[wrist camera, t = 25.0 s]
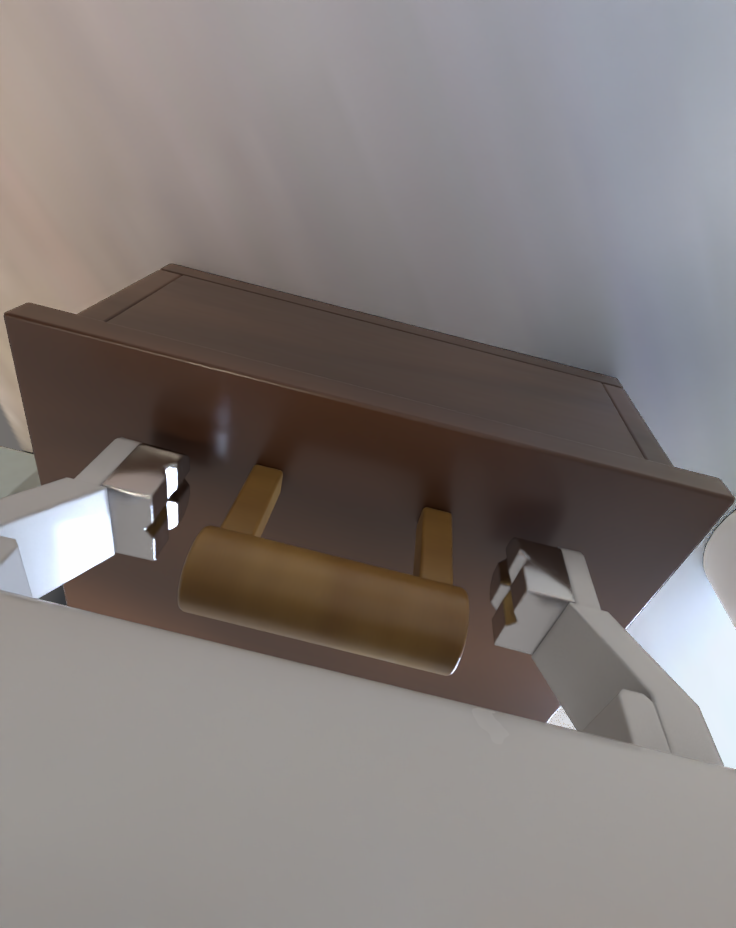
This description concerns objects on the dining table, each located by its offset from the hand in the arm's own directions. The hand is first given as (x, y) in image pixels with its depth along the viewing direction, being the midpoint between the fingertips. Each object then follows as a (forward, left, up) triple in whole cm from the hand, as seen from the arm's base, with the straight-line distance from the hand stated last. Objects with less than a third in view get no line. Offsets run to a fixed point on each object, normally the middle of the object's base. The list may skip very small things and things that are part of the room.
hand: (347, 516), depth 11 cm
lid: (+6, 0, -1) cm, 6 cm away
